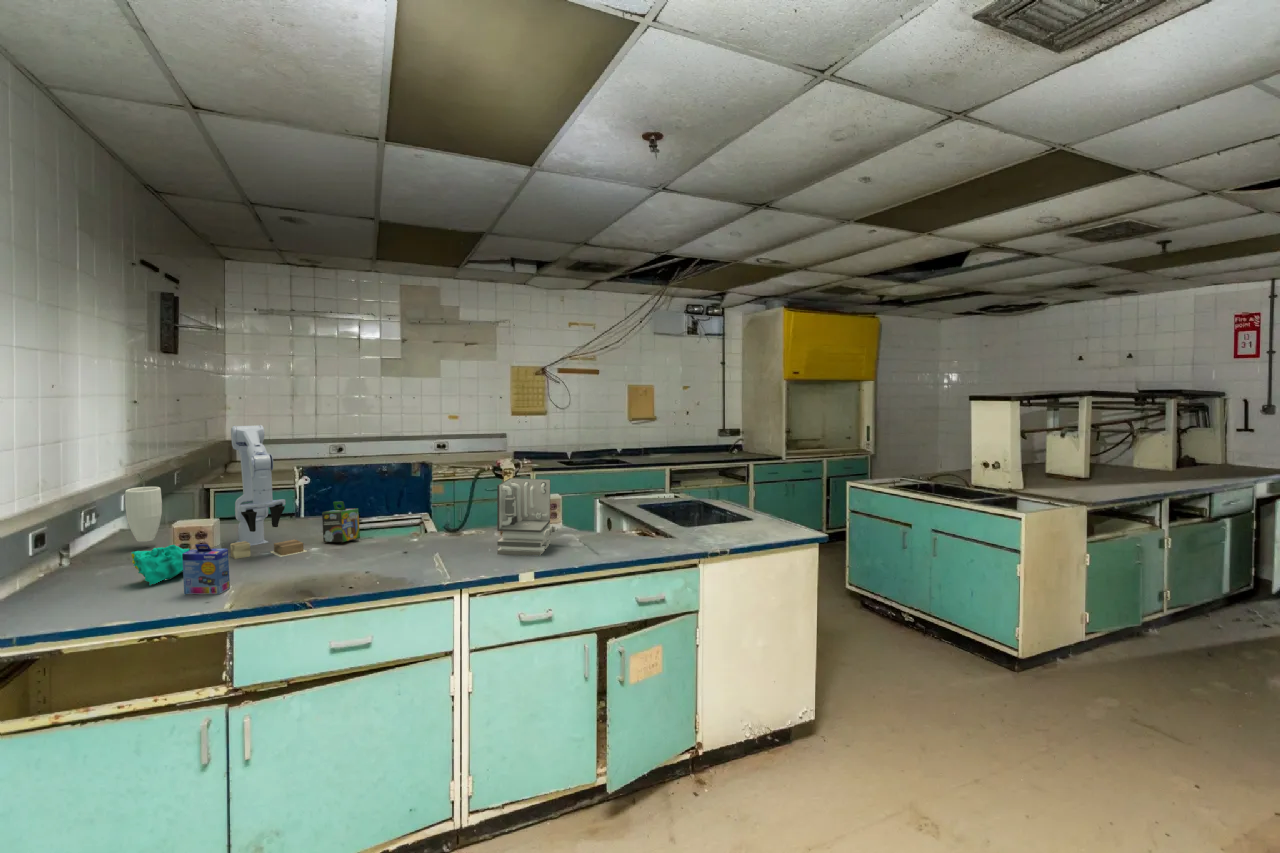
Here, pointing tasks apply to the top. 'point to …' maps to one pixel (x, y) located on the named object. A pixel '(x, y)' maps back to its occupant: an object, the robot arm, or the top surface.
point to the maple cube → (240, 550)
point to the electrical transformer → (524, 516)
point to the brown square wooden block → (288, 547)
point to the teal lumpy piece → (159, 563)
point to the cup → (143, 511)
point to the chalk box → (340, 524)
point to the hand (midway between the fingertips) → (264, 529)
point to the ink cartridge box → (205, 570)
